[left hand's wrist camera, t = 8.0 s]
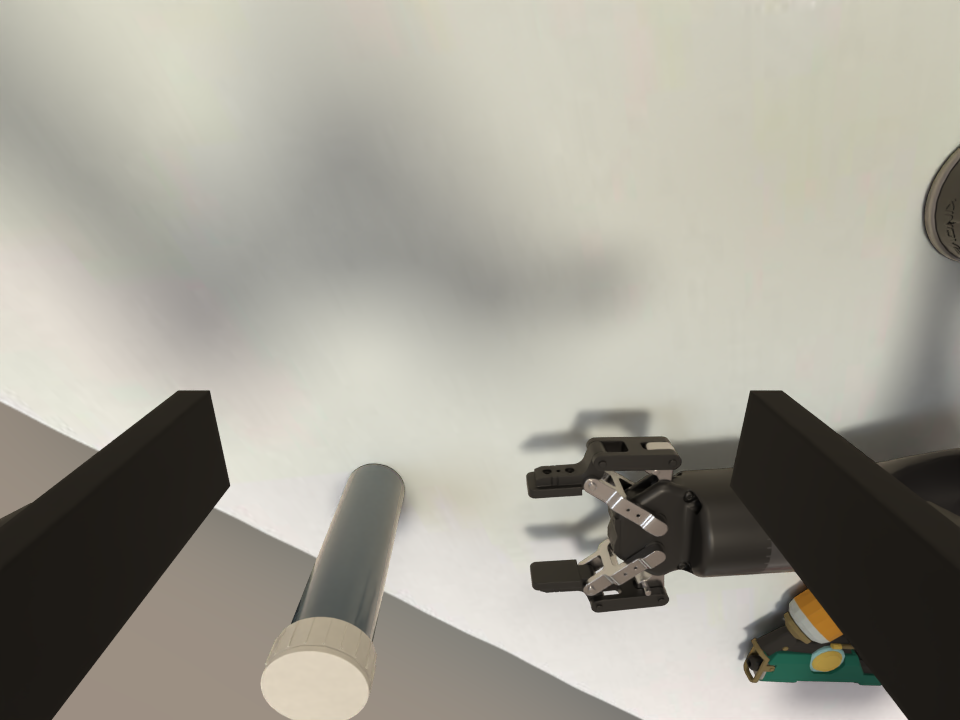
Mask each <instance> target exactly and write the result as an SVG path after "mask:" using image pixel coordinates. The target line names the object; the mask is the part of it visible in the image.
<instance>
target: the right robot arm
mask: <svg viewBox="0 0 960 720" xmlns="http://www.w3.org/2000/svg"><path fill="white" fill-rule="evenodd" d="M925 226H926V231H927V234H928V237H929V239H930V241H931V243H932V244H933V246H934V247H935V248H936V249H937V250H938V251H939V252H940V253H941V254H943V255H944V256H946V257H947V258H949V259H952V260H954V261H958V262H960V147H959V148H958V149H957V150H956V151H955V152H954V153H953V154H952V155H951V157H950V158H949V159H948V160H947V161H946V163H945V164H944V165H943V167H942V168H941V170H940V171H939V173H938V174H937V176H936V178H935V180H934V182H933V184H932V186H931V189H930V191H929V194H928V198H927V202H926V207H925ZM586 447H587V451H586V453H585V456H584V458H583V459H582V461H580V462H579V463H577V464H569V465H556V466H541V467H538V468H536V469H534V472H530V473H528V474H527V475H526V478H527V489H528V495H529V496H530V497H531V498H548V497H564V496H579V495H582V490H583V489H584V490H585V491H586V492H588V493H589V494H591V495H593V496H595V497H596V498H598V499H600V500H602V501H604V502H605V503H606V504H607V505H608V511H609V514H610V518H611V519H610V522H609V525H608V537H609V538H608V539H606V540H605V541H603V542H602V543H600V545H599V546H598V550H597V551H596V552H595V553H593V554H592V555H590V556H589V557H587V558H585V559H584V560H582V561H581V562H580V563H579V564H578V565H577V561H576V560H560V561H544V562H534V563H532V564H531V565H530V572H531V581H532V587H533V588H534V589H535V590H540V591H542V592H546V593H549V592H559V591H560V592H565V591H582V592H584V593H585V594H586V595H587V597H588V599H589V601H590V604H591V608H592V610H593V611H594V612H608V611H618V610H627V609H637V608H646V607H656V606H663V605H665V604H667V603H668V601H669V597H668V595H667V593H666V589H665V587H664V575H665V574H667V573H669V572H672V571H674V570H685V571H688V572H690V573H692V574H694V575H696V576H699V577H716V576H732V575H749V574H764V573H781V572H794V569H793V568H792V567H791V565H790V564H789V563H788V561H787V560H786V559H785V558H784V556H783V555H782V554H781V552H780V551H779V550H778V548H777V547H776V546H775V544H774V543H773V542H772V540H771V539H770V538H769V537H768V535H767V534H766V533H765V531H764V530H763V529H762V527H761V526H760V525H759V523H758V522H757V521H756V520H755V518H754V517H753V516H752V514H751V513H750V512H749V510H748V509H747V508H746V506H745V505H744V504H743V502H742V501H741V500H740V499H739V497H738V496H737V495H736V493H735V492H734V491H733V489H732V488H731V487H730V482H731V478H732V473H733V468H722V469H707V470H692V471H681V472H679V473H677V474H676V475H675V476H673V475H672V474H673V470H675V469H677V468H678V467H679V466H680V465H681V462H682V461H681V458H680V457H679V455H678V454H677V452H676V451H675V449H674V448H673V446H672V445H671V443H670V442H669V440H668V439H667V438H666V437H598V438H591V439H590V440H588V442H587V444H586ZM876 463H877V464H878V465H879V466H881V467H882V468H883V469H885V470H886V471H887V472H888V473H890V474H891V475H892V476H894V477H895V478H896V479H898V480H899V481H900V482H901V483H903V484H904V485H905V486H907V487H908V488H909V489H911V490H912V491H913V492H914V493H916V494H917V495H918V496H920V497H921V498H922V499H924V500H925V501H930V502H932V503H934V504H936V505H938V506H940V507H942V508H944V509H946V510H948V511H950V512H952V513H954V514H956V515H958V516H960V448H955V449H948V450H941V451H935V452H930V453H924V454H918V455H913V456H907V457H902V458H897V459H893V460H888V461H882V462H876ZM640 470H645V471H646V472H647V473H650V474H649V475H647V476H646V477H644V478H643V479H641V480H639V481H638V482H636V483H633V482H632V481H630V480H628V479H626V478H625V477H623V476H621V475H620V474H618V473H616V472H614V471H640ZM616 556H618V557H619V558H620V559H622V560H624V562H622V563H621V564H618V561H617V558H616ZM603 566H604V567H603ZM602 567H603V569H602V570H601V571H600V572H598V573H597V574H596V573H595V572H596V571H597V570H599V569H600V568H602ZM612 590H616V591H618V593H619V594H614V595H605V596H604V593H603V591H612Z"/></svg>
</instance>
